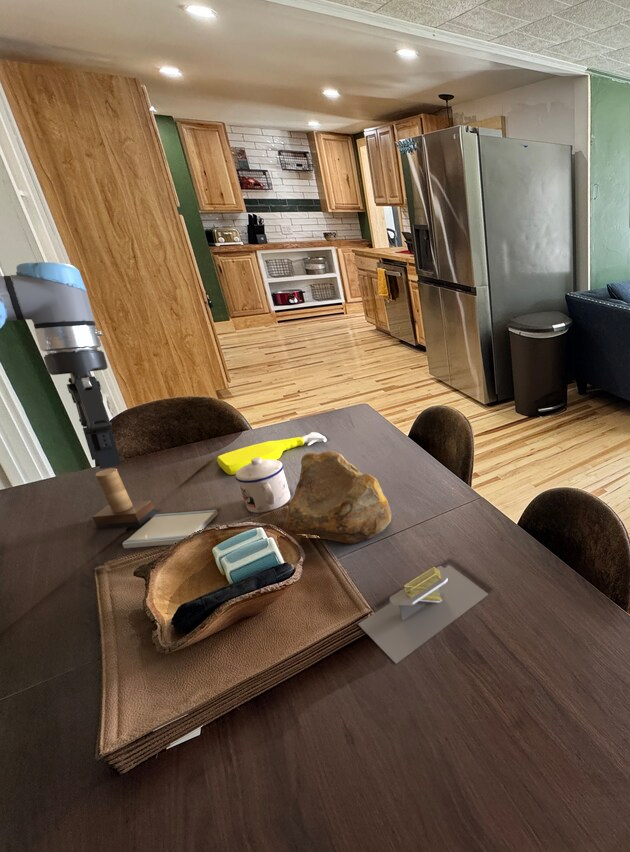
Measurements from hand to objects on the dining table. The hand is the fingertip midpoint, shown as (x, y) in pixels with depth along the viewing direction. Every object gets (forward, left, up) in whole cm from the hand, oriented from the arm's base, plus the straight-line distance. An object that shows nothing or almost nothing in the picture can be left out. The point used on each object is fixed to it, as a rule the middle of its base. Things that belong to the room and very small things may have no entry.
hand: (106, 462), depth 90 cm
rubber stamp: (-7, +7, -19) cm, 22 cm away
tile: (+4, +3, -19) cm, 20 cm away
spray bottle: (+10, +36, -19) cm, 42 cm away
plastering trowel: (+61, -27, -19) cm, 69 cm away
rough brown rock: (+38, -1, -19) cm, 42 cm away
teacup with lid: (+20, +10, -19) cm, 29 cm away
